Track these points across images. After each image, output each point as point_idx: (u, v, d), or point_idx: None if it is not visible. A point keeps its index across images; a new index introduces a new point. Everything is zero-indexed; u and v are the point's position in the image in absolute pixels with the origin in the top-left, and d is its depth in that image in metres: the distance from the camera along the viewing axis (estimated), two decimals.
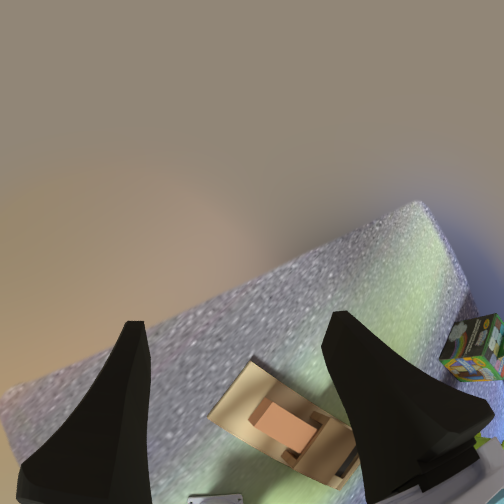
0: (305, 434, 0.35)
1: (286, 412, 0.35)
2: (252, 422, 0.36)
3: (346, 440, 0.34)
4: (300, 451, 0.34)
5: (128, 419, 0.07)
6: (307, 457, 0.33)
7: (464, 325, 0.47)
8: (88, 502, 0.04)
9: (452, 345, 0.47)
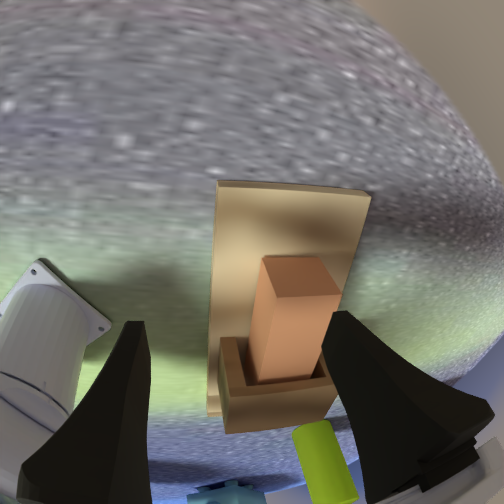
0: (298, 367, 0.21)
1: None
2: (274, 280, 0.18)
3: (311, 414, 0.23)
4: (262, 378, 0.21)
5: (128, 419, 0.07)
6: (263, 399, 0.20)
7: None
8: (88, 502, 0.04)
9: None
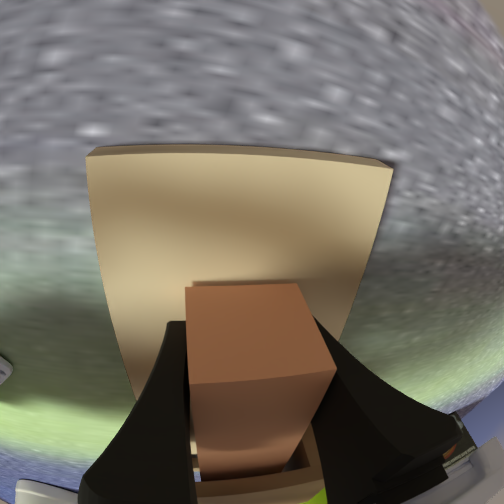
0: (261, 459, 0.11)
1: (310, 411, 0.09)
2: (195, 339, 0.09)
3: (290, 501, 0.13)
4: (206, 471, 0.11)
5: (185, 419, 0.07)
6: (206, 499, 0.10)
7: None
8: None
9: None
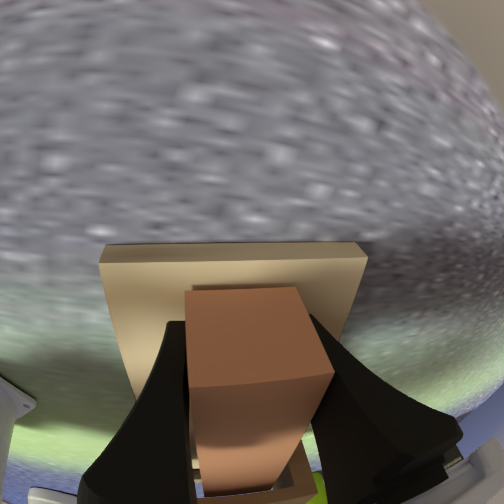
0: (261, 460, 0.11)
1: (309, 414, 0.09)
2: (194, 343, 0.09)
3: None
4: (206, 472, 0.11)
5: (184, 419, 0.07)
6: None
7: None
8: None
9: None
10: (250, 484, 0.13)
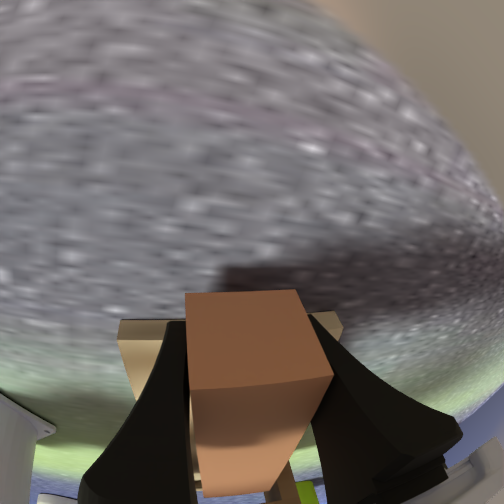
0: (261, 461, 0.11)
1: (308, 415, 0.09)
2: (195, 345, 0.09)
3: None
4: (206, 473, 0.11)
5: (185, 419, 0.07)
6: None
7: None
8: None
9: None
10: (249, 485, 0.13)
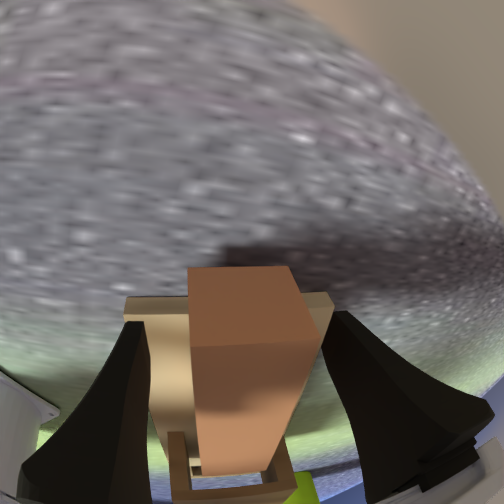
0: (256, 433, 0.13)
1: (299, 381, 0.11)
2: (196, 310, 0.10)
3: (267, 503, 0.18)
4: (204, 445, 0.13)
5: (128, 419, 0.07)
6: (207, 501, 0.16)
7: None
8: (88, 502, 0.04)
9: None
10: (246, 462, 0.15)
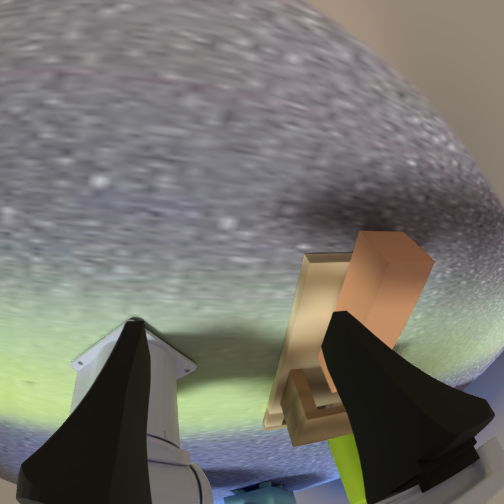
0: (387, 336, 0.21)
1: (420, 290, 0.19)
2: (379, 249, 0.18)
3: None
4: None
5: (128, 419, 0.07)
6: (330, 418, 0.24)
7: None
8: (88, 502, 0.04)
9: None
10: None
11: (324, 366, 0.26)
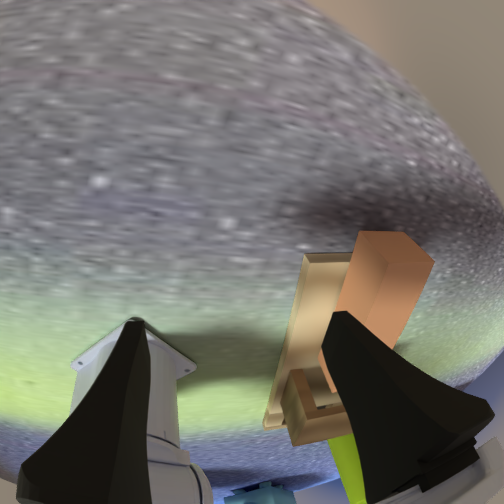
0: (387, 336, 0.21)
1: (420, 290, 0.19)
2: (379, 249, 0.18)
3: None
4: None
5: (128, 419, 0.07)
6: (330, 418, 0.24)
7: None
8: (88, 502, 0.04)
9: None
10: None
11: (324, 366, 0.26)
